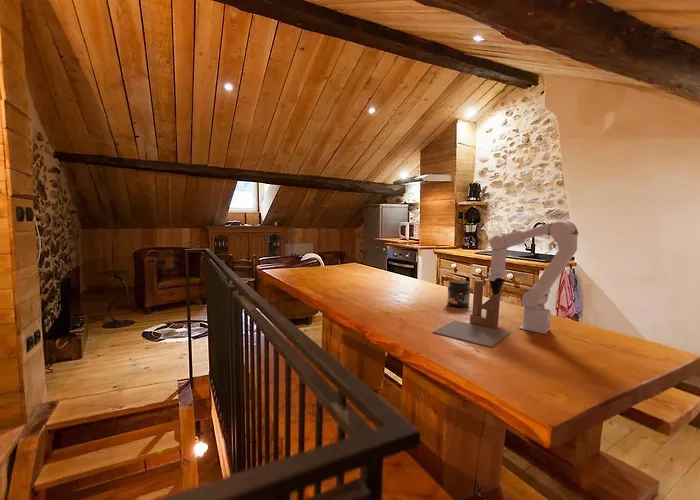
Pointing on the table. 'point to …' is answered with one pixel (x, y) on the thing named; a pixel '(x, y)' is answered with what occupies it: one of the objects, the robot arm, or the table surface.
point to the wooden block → (489, 305)
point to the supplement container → (458, 293)
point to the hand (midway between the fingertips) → (495, 295)
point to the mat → (472, 333)
